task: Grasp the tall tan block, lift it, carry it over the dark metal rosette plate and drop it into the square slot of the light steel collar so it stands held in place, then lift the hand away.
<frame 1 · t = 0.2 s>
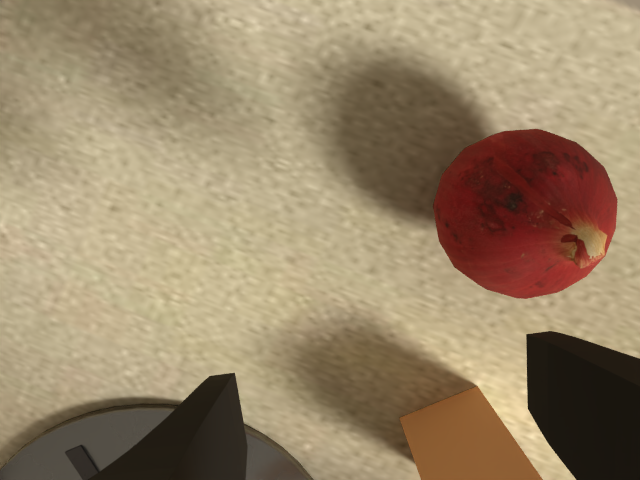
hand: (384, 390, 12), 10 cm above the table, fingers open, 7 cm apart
tall tan block: (448, 427, 23), on the table
onion: (477, 197, 21), on the table
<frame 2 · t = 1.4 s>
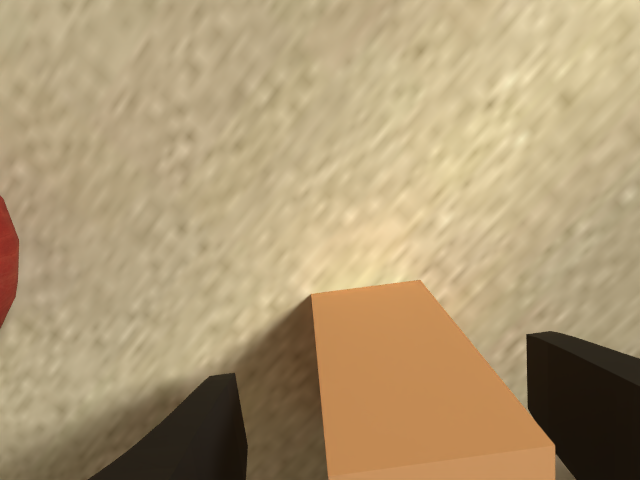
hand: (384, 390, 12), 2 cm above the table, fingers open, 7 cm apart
tall tan block: (372, 353, 14), on the table
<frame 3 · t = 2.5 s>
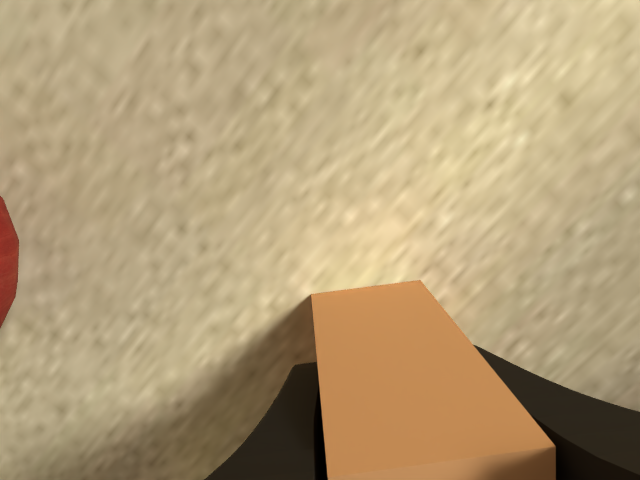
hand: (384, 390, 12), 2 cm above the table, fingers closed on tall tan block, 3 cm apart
tall tan block: (372, 354, 13), on the table, touching gripper
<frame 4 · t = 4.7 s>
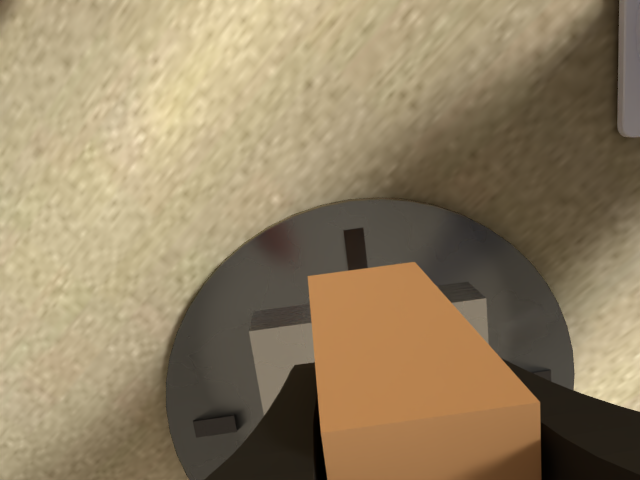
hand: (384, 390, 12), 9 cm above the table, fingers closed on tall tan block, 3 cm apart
rosette: (371, 395, 22), on the table
tall tan block: (368, 335, 14), point 7 cm above the table, touching gripper
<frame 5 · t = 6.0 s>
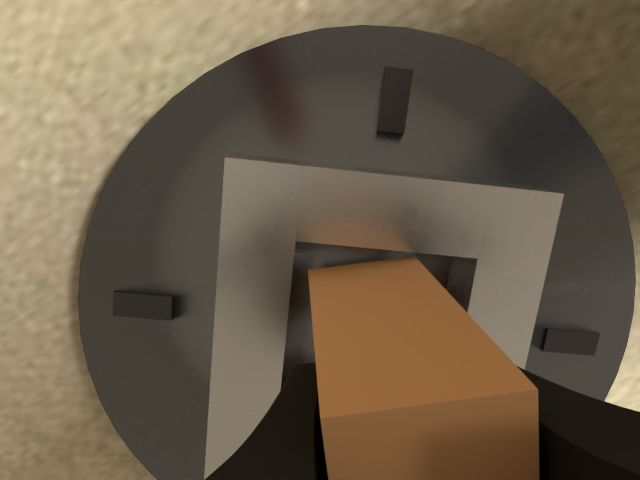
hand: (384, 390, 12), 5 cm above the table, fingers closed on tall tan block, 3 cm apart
rosette: (361, 316, 16), on the table
tall tan block: (368, 329, 14), point 2 cm above the table, touching gripper
when the fingers open (4 cm above the table, at t = 6.9 s): tall tan block stays where it is, resting on rosette.
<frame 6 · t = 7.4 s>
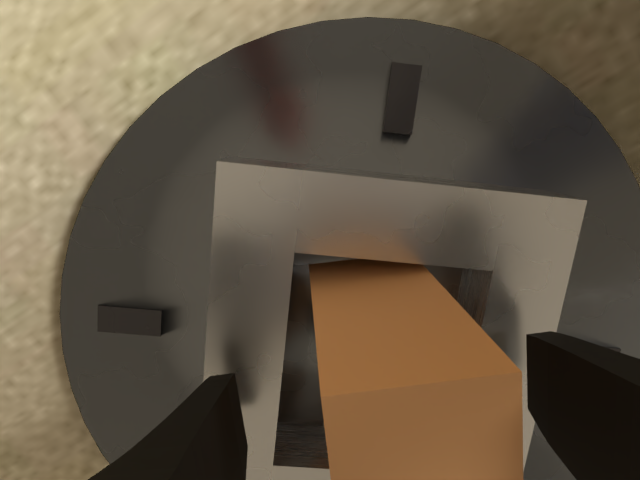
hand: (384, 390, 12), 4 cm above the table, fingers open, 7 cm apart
rosette: (364, 331, 15), on the table
tall tan block: (366, 322, 14), point 1 cm above the table, touching rosette
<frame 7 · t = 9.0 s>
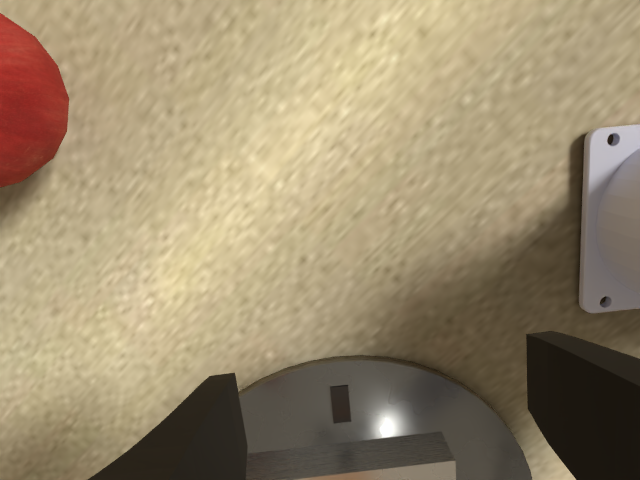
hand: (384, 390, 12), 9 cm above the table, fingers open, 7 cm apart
onion: (29, 104, 19), on the table
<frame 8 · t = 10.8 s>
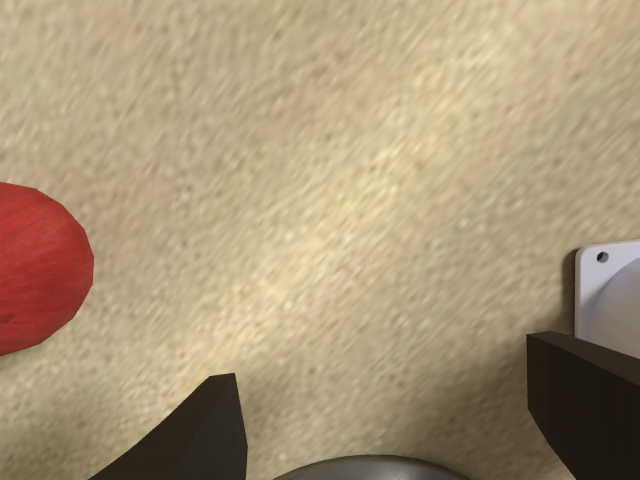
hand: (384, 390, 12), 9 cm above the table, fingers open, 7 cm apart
onion: (53, 241, 20), on the table
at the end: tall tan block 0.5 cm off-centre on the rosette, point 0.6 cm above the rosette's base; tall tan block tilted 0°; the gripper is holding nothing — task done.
